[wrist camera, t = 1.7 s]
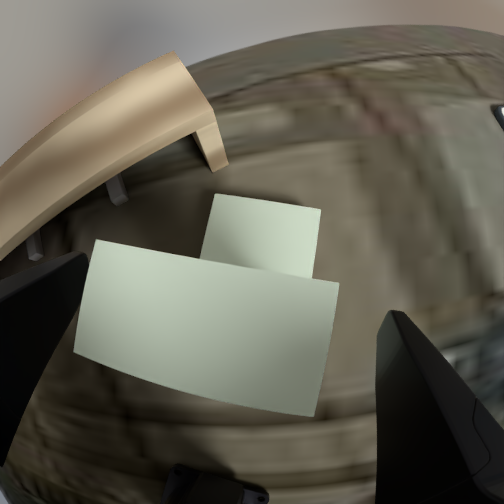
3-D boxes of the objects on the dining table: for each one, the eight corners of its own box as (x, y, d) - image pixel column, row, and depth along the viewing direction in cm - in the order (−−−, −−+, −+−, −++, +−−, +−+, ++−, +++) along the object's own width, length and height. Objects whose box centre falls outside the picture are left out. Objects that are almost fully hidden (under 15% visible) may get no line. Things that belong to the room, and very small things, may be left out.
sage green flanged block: (294, 353, 16) (340, 419, 5) (193, 333, 17) (57, 344, 5) (316, 221, 18) (369, 75, 6) (221, 206, 19) (156, 59, 7)
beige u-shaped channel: (228, 164, 19) (212, 109, 14) (-5, 310, 18) (-52, 302, 13) (192, 104, 21) (173, 50, 15) (-14, 246, 20) (-55, 230, 14)
